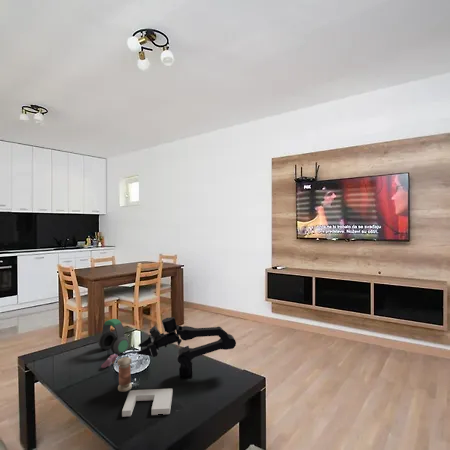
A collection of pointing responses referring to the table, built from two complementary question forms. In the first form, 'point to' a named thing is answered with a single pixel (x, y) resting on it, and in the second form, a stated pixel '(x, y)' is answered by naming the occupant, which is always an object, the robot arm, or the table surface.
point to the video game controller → (109, 361)
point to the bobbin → (124, 374)
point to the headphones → (113, 337)
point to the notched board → (158, 395)
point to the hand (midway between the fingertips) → (137, 349)
